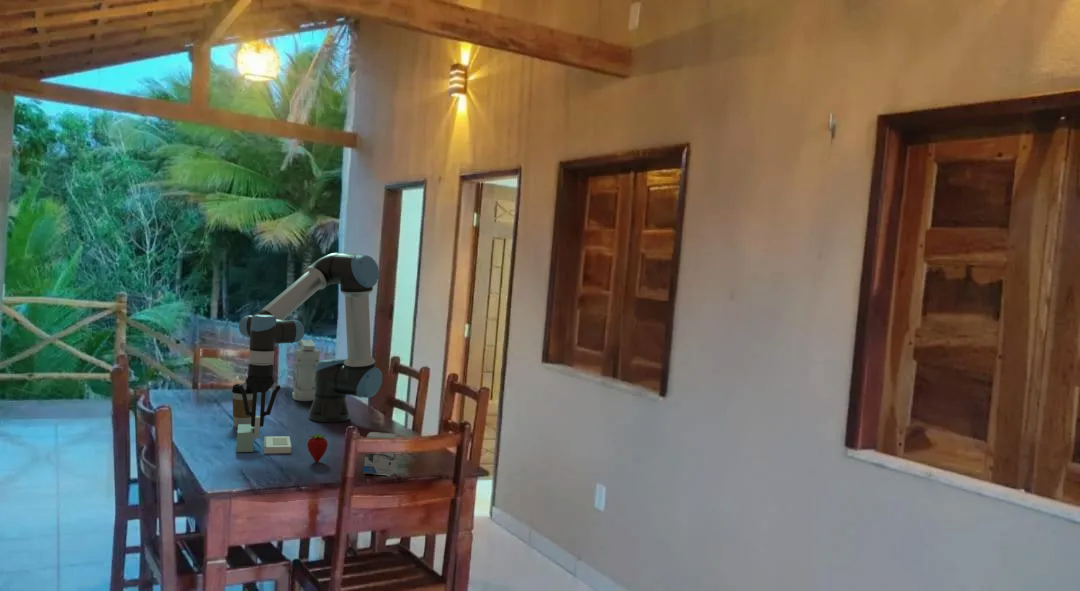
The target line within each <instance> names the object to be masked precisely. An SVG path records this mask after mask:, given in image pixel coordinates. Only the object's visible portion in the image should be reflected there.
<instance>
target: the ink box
mask: <svg viewBox="0 0 1080 591" xmlns="http://www.w3.org/2000/svg"><path fill="white" fill-rule="evenodd" d="M395 437H397V438H398V434H396V433H390V432H389V433H387V432H377V431H370V432H368V433H367V435H366V439H367V438H395ZM396 456H397V453H396V454H395V453H391V454H390V453H385V454H366V453H365V452H364V465H363V467H364V468H363V473H364V472H367V473H377V474H388V475H392V474H393V473H394V471H395V469H396ZM394 474H395V473H394ZM394 474H393V475H394Z"/></svg>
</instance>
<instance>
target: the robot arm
mask: <svg viewBox="0 0 1080 591" xmlns="http://www.w3.org/2000/svg"><path fill="white" fill-rule="evenodd" d="M379 277H380V270H379V266H378V263H377V262H376V260H375V259H374V258H373V257H372V256H370V255H365V254H361V253H346V252H332V253H329V254H327V255H324V256H322V257H320V258H318V259H317V260H315V261H313V262H312V263H311V264H310V265H309V266H308V267H306V268H305V269H304V271H303V274H302V275H300V277H299V278H297V279H296V280H295V281H294V282H293V283H292V284H291V285H289V286H288V287H286V289H284V290H283V291H282V292H281V293H280V294H279V295H278V296H276V297H275V298H274V299H273V300H271V301H270V302H269V303H268V304H267V305H265V306H264V307H263V308H262V309H261V310H259V311H258V312H257V313H256V314H254V315H252V314H249V315H245V316H243V317H242V318H241V319H240V321H239V323H238V330H239V333H240V335H242V336H243V337H246V338H249V350H248V363H249V364H248V368H247V378H246V379H245V381H244V382H243V383H238V384H239V386H238V388H239V390H240V391H241V393H242V397H243V402H244V407H245V412H246V415H250V416H251V427H255V434H254V439H255V438H256V439H257V438H260V429H261V428H262V427H264V425H265V423H264V422H265V417H266V416H270V415H271V412H272V409H273V406H274V403H275V401H276V397H277V393H279V391H280V389H281V385H280V384H277V383H276V382H275V380H274V377H273V376H274V365H273V364H274V362H275V361H274V360H275V359H274V358H275V349H276V345H278V344H294V343H299V341H300V340H301V339H302V340H303V338H304V336H305V327H304V325H303V323H302V322H301V321H299V320H296V319H290V320H289V319H287V318H288V317H289V316H290V315H291V314H292V313H293V312H294V311H296V310H297V309H298V308H299V307H300V306H301V305H303V304H304V303H305V302H306V301H307V300H309V299H310V297H312V296H313V295H314V294H315V293H316V292H317V291H321V290H324V289H325V288H326V287H328V286H330V285H340V286H339V287H340V292H341V293H342V294H343V295H344V304H345V323H346V324H345V326H346V352H347V353H346V354H347V358H331V359H330V358H329V359H321V360H319V362H318V363H317V365H316V366H317V369H316V383H315V398H314V400H312V404H311V406H310V408H309V411H308V419H309V420H310V421H313V422H320V423H340V422H346V421H348V420H349V419H350V411H349V407H348V403H347V395H348V396H353V397H356V398H360V399H361V398H363V399H364V398H366V399H368V398H372V397H374V396H375V395H376V394H377V393H378V392H379V389H380V388H381V387H382V386H381V385H382V383H383V373H382V370H381V369H380V368H378V367H376V360H375V359H374V358H373V357H372V348H371V346H372V345H371V321H370V320H371V319H370V317H371V316H370V294H371V293H372V292H373V291H374V290H373V289H374V288H373V287H375V285H376V284H377V283H378V280H379ZM247 385H248V387H249V388H250V389H251V391H252V392H253V400H252V411H250V410H249V405H248V400H247V395H246V388H247V387H246V386H247ZM271 387H272V388H271ZM270 389H272V393H271V396H270V399H269V402H268V405H267V408H266V410H265V406H266V405H265V404H266V394H267V392H268V391H269V390H270ZM258 393H261V396H260V408H259V409H260V410H259V411H260V412H259V415H257V403H258V402H257V399H258ZM260 427H261V428H260Z"/></svg>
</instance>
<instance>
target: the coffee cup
mask: <svg viewBox="0 0 1080 591" xmlns="http://www.w3.org/2000/svg"><path fill="white" fill-rule="evenodd" d="M239 384H240V383H238V384H237V383H236V384H233V386H232V389H231V393H232V416H233V417H232V419H233V425H232V426H233V428H237V429H238V424H251V416H250V415H246V412H245V407H244V402H243V397H242V393H241V391H240V390H239V388H238V386H239ZM246 387H247V388H246V395H247V400H248V405H249V410H250V411H252V400H253V392H252V391H251V389H250V388H249V387H248V385H247V386H246Z"/></svg>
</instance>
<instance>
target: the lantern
mask: <svg viewBox="0 0 1080 591" xmlns="http://www.w3.org/2000/svg"><path fill="white" fill-rule="evenodd" d="M297 343H298V346H299V348H297V349H294V354H295V361H294V362H295V363H294V364H293V375H292V389H293V392H291V394H292V395H291V396H292V397H291V398H292V399H293V400H295V401H299V402H310V401H312V402H313V401H314V398H315V383H316V369H317V363H318V362H319V361H320V355H321V350H320V349H316V345H315V343H314V341H313V339H309V338H308V339H307V338H304V339H303V338H302V339H301V340H300V341H298V342H297Z"/></svg>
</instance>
